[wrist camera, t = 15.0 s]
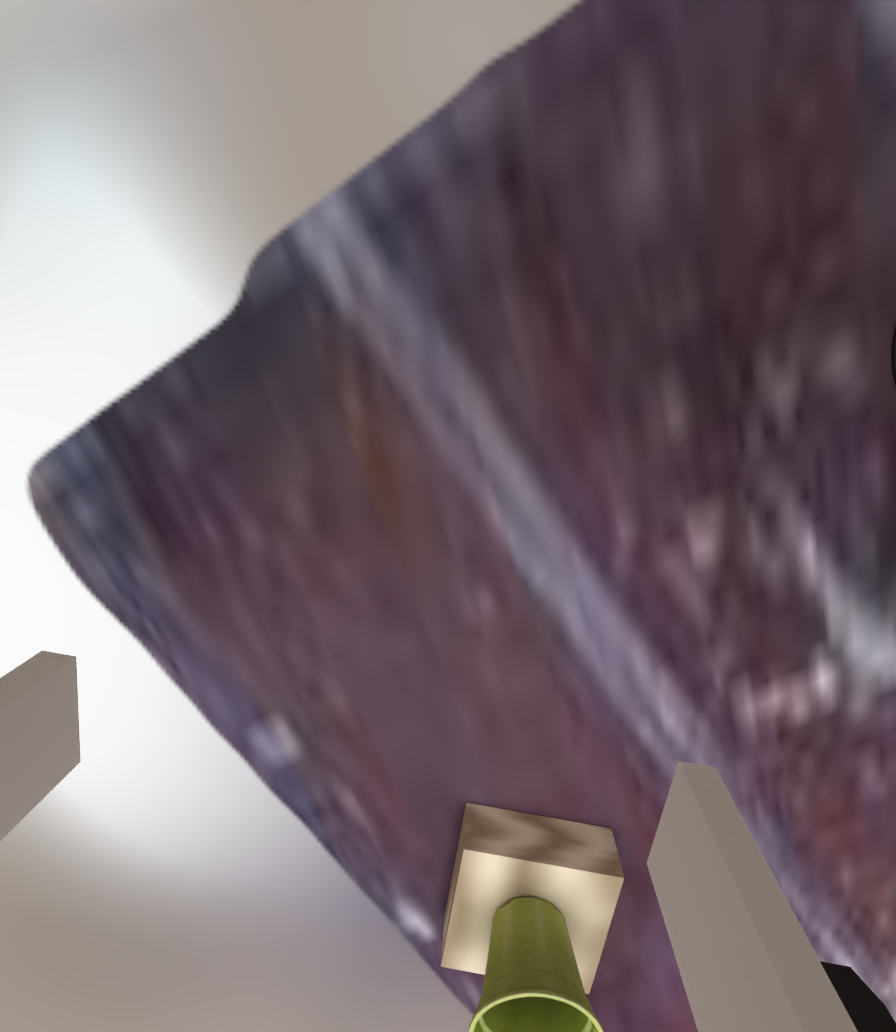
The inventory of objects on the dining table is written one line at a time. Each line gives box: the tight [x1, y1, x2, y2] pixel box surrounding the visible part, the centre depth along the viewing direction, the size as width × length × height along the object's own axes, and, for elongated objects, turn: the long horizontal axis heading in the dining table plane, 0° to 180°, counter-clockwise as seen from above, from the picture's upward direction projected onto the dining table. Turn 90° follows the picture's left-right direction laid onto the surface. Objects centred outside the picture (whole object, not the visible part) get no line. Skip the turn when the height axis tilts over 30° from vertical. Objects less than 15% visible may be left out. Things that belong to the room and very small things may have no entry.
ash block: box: [441, 803, 624, 994], centre depth 50 cm, size 13×13×5 cm
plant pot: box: [469, 897, 604, 1032], centre depth 44 cm, size 9×9×9 cm
